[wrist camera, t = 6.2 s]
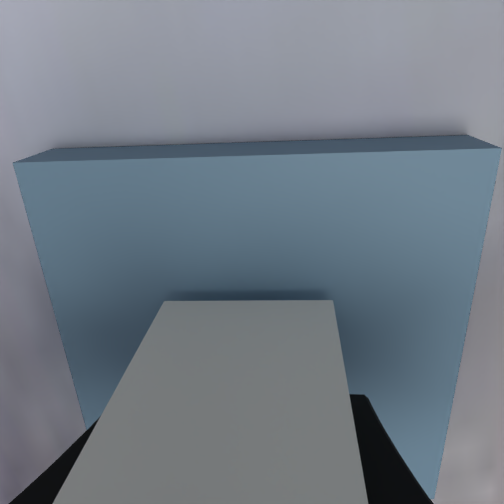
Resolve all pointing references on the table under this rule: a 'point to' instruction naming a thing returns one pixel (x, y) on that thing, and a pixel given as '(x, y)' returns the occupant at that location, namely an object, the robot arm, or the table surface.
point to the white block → (227, 412)
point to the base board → (274, 255)
